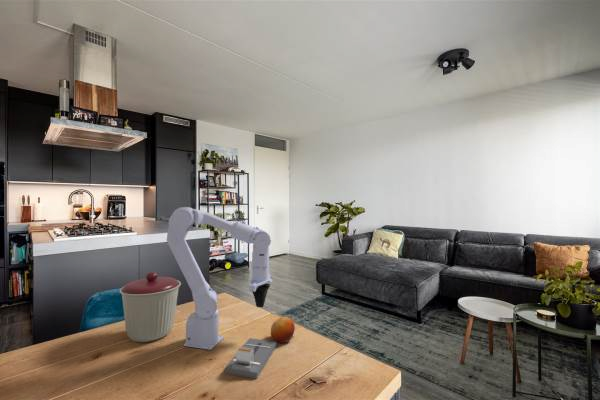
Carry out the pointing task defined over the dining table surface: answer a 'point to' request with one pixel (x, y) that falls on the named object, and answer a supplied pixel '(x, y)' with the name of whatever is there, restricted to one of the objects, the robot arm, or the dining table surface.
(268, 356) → the board
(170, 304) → the canister
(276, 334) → the fruit
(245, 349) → the fader cap
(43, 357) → the dining table surface
